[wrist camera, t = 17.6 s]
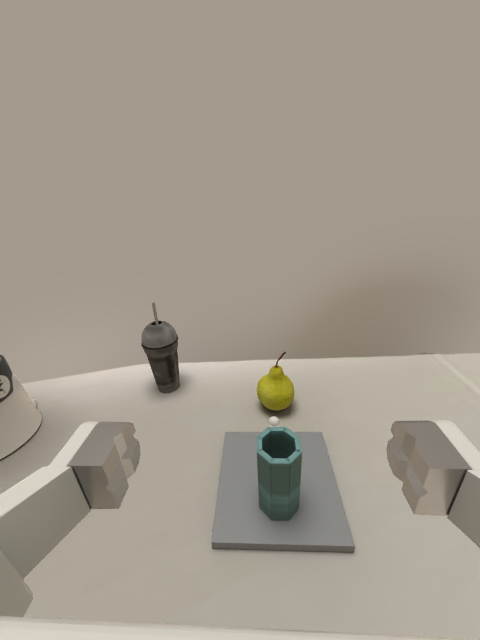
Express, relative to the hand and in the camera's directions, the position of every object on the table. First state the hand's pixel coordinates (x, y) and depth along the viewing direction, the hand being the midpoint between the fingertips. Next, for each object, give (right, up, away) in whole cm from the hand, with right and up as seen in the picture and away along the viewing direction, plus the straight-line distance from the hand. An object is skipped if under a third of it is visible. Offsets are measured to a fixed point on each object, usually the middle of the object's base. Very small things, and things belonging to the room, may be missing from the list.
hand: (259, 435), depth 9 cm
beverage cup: (-16, -11, +51) cm, 55 cm away
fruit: (+6, -13, +44) cm, 46 cm away
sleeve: (+4, -20, +26) cm, 33 cm away
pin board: (+5, -19, +30) cm, 36 cm away
